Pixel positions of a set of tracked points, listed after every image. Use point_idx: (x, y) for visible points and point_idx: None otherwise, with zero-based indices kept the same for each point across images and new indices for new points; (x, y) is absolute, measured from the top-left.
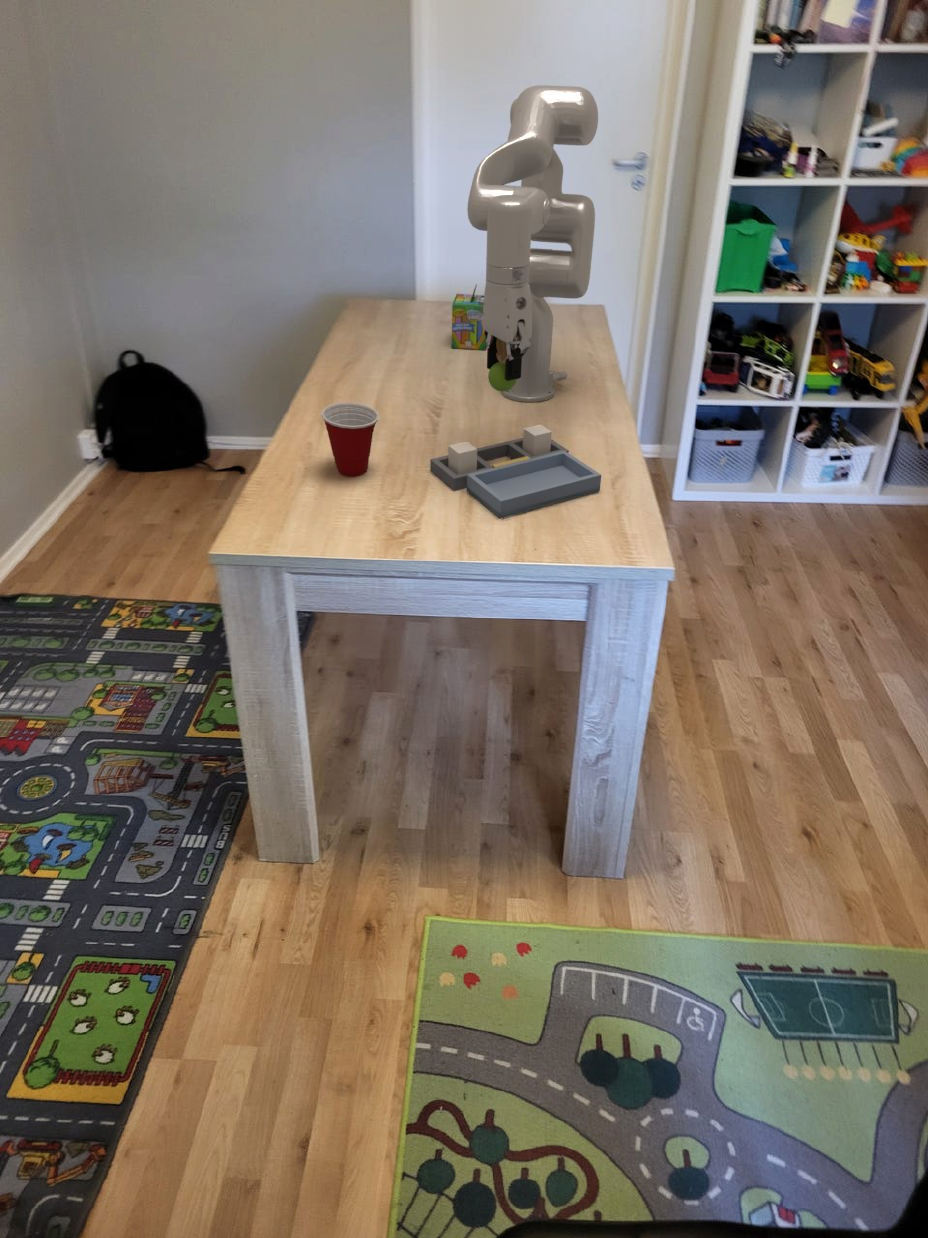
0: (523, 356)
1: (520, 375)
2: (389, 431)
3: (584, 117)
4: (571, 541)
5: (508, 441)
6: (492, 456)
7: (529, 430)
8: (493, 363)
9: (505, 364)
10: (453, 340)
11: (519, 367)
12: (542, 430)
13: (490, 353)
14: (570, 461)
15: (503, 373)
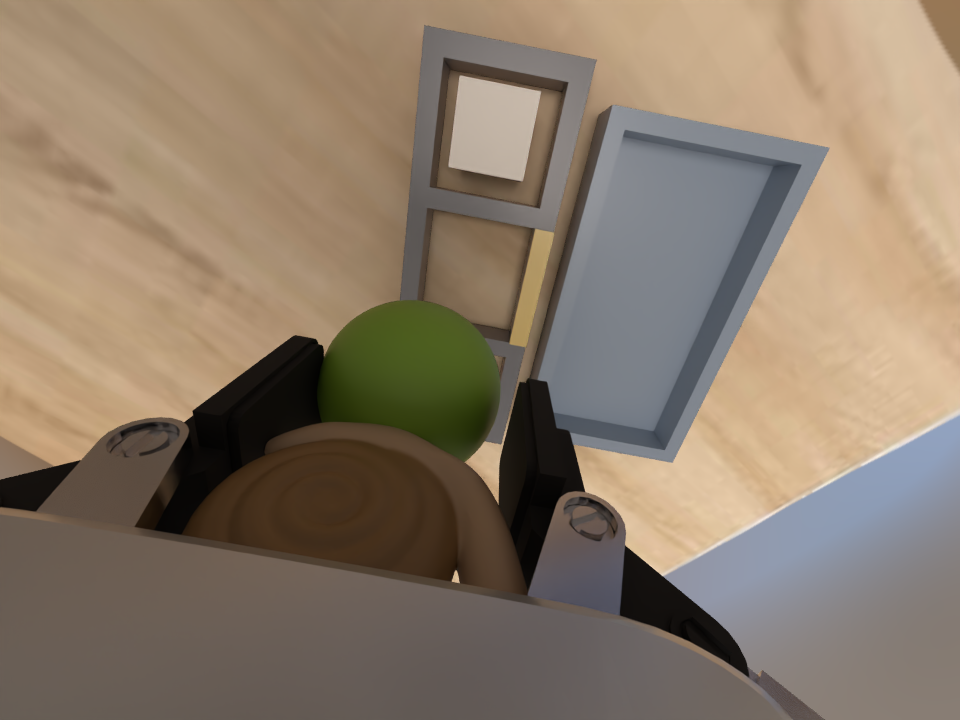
0: (619, 519)
1: (545, 388)
2: (162, 351)
3: None
4: (841, 397)
5: (412, 191)
6: (426, 259)
7: (476, 162)
8: (307, 424)
9: None
10: None
11: (578, 465)
12: (507, 116)
13: None
14: (665, 140)
15: (465, 459)
